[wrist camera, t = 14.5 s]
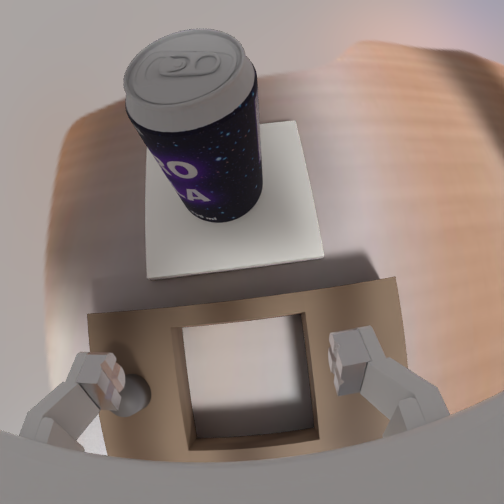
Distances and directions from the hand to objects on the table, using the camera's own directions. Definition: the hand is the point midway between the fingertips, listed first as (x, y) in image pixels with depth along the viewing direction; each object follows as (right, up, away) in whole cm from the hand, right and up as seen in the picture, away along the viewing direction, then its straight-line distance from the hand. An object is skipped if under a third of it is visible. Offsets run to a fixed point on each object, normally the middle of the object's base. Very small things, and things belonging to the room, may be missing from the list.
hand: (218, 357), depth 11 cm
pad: (-1, +8, +12) cm, 14 cm away
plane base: (+1, -5, +9) cm, 10 cm away
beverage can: (-1, +8, +11) cm, 14 cm away
